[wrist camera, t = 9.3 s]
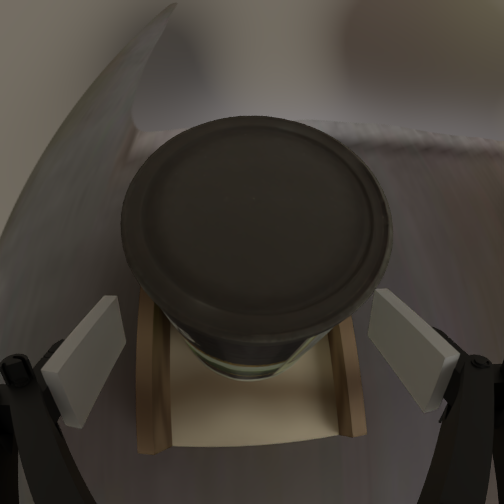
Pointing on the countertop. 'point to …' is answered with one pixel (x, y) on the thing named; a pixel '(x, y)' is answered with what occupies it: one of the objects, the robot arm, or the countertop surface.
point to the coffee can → (255, 239)
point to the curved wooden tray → (241, 393)
